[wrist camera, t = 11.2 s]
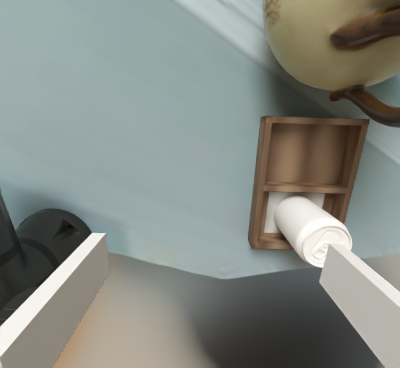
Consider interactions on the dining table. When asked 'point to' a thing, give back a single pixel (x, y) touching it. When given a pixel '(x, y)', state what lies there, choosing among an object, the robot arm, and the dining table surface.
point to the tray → (303, 170)
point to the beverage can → (310, 229)
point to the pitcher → (339, 47)
